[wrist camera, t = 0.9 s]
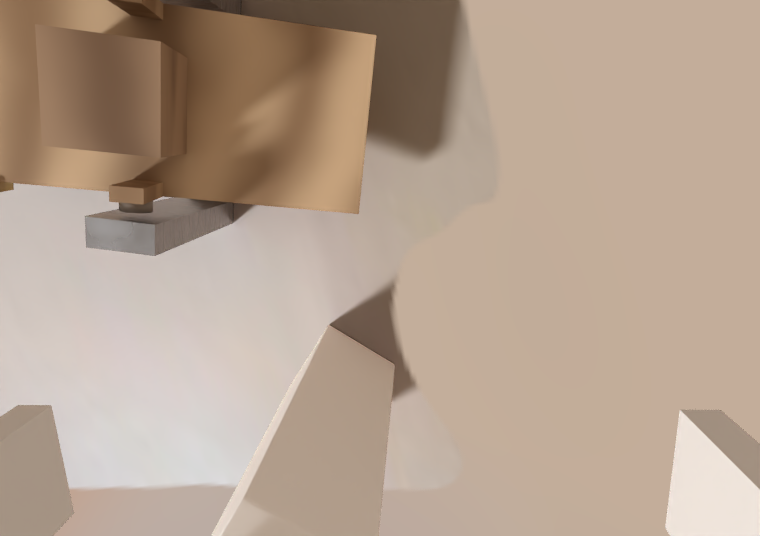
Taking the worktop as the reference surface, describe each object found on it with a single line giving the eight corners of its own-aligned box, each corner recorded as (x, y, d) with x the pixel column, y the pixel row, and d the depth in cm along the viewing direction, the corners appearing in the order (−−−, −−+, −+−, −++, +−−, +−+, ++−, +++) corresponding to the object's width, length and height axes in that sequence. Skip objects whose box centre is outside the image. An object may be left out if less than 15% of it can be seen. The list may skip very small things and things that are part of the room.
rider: (90, 143, 27) (42, 145, 22) (86, 44, 25) (35, 24, 21) (186, 153, 28) (160, 157, 23) (187, 58, 26) (160, 41, 21)
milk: (355, 421, 39) (282, 761, 18) (289, 382, 38) (132, 683, 17) (396, 362, 37) (371, 655, 16) (328, 321, 37) (208, 566, 16)
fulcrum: (184, 217, 36) (86, 247, 25) (187, -11, 32) (73, -89, 21) (232, 222, 36) (154, 255, 25) (241, -5, 32) (153, -81, 21)
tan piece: (-24, 175, 31) (-151, 191, 23) (-42, -19, 29) (-193, -84, 20) (350, 210, 35) (363, 234, 27) (366, 41, 32) (387, 8, 24)
